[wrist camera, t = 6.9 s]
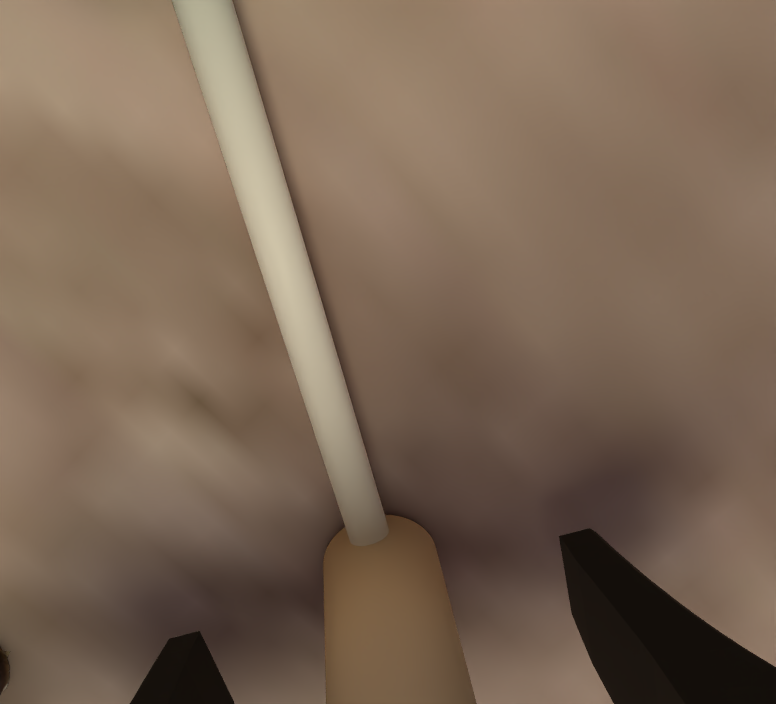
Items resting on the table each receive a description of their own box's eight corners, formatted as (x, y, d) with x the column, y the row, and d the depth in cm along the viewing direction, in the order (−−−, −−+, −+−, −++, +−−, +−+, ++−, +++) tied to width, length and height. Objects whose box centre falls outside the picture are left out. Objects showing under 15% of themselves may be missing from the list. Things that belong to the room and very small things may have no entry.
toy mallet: (232, -498, 8) (138, -1165, 4) (482, 580, 14) (551, 785, 10) (-103, -410, 8) (-593, -983, 4) (304, 627, 14) (301, 851, 10)
